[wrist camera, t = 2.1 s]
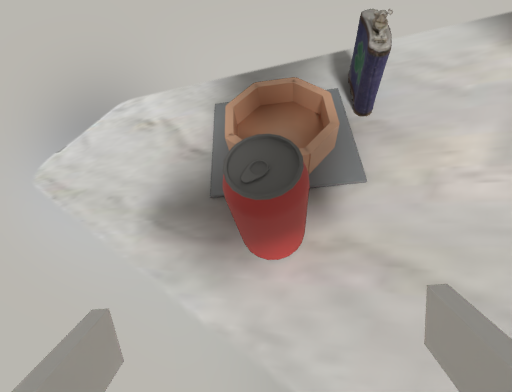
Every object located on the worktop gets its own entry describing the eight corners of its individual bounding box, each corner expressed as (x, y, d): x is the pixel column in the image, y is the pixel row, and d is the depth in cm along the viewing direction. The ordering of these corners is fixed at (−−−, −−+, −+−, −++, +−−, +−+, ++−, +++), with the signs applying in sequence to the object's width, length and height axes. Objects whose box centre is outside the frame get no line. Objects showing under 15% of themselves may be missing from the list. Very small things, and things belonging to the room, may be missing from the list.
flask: (346, 74, 40) (363, -9, 31) (366, 73, 39) (389, -12, 30) (353, 117, 35) (375, 35, 26) (376, 116, 35) (406, 33, 26)
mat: (337, 90, 38) (337, 88, 38) (366, 182, 30) (367, 180, 30) (215, 106, 40) (214, 103, 39) (211, 197, 31) (210, 196, 31)
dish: (322, 97, 37) (324, 73, 34) (341, 171, 31) (347, 150, 27) (231, 108, 38) (225, 86, 35) (231, 183, 32) (224, 163, 28)
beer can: (230, 232, 29) (196, 166, 18) (272, 194, 31) (263, 114, 20) (273, 275, 26) (261, 225, 16) (317, 230, 28) (332, 159, 17)
